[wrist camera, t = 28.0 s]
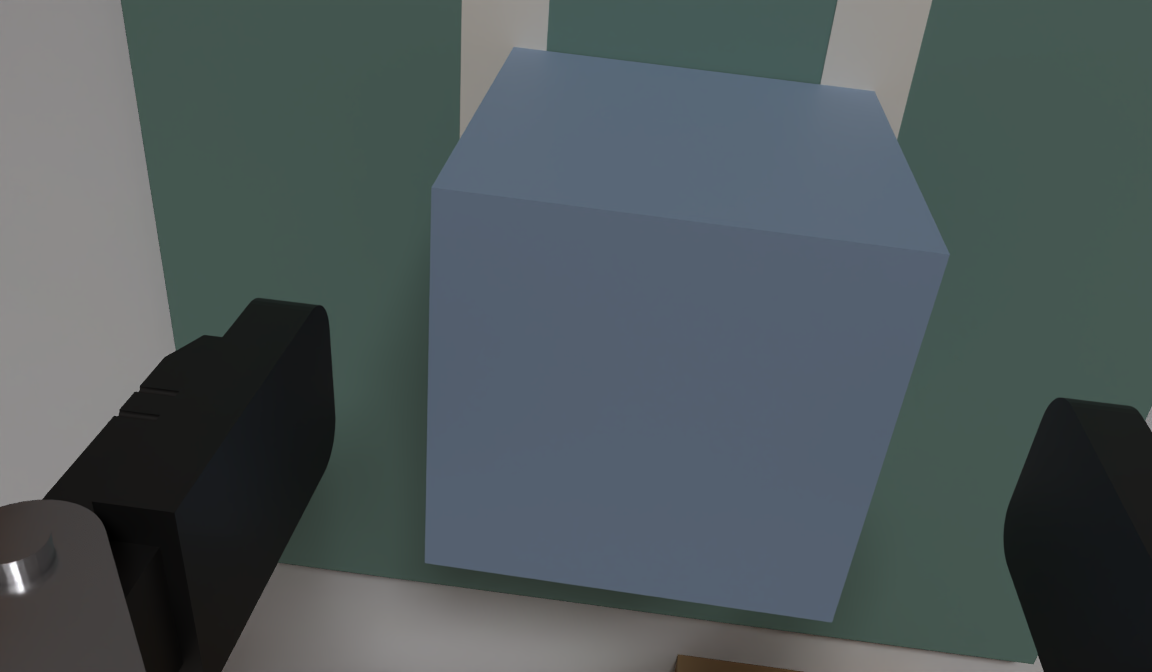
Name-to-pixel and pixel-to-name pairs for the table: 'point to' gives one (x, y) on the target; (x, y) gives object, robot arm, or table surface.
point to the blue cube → (670, 330)
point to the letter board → (705, 42)
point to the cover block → (719, 666)
